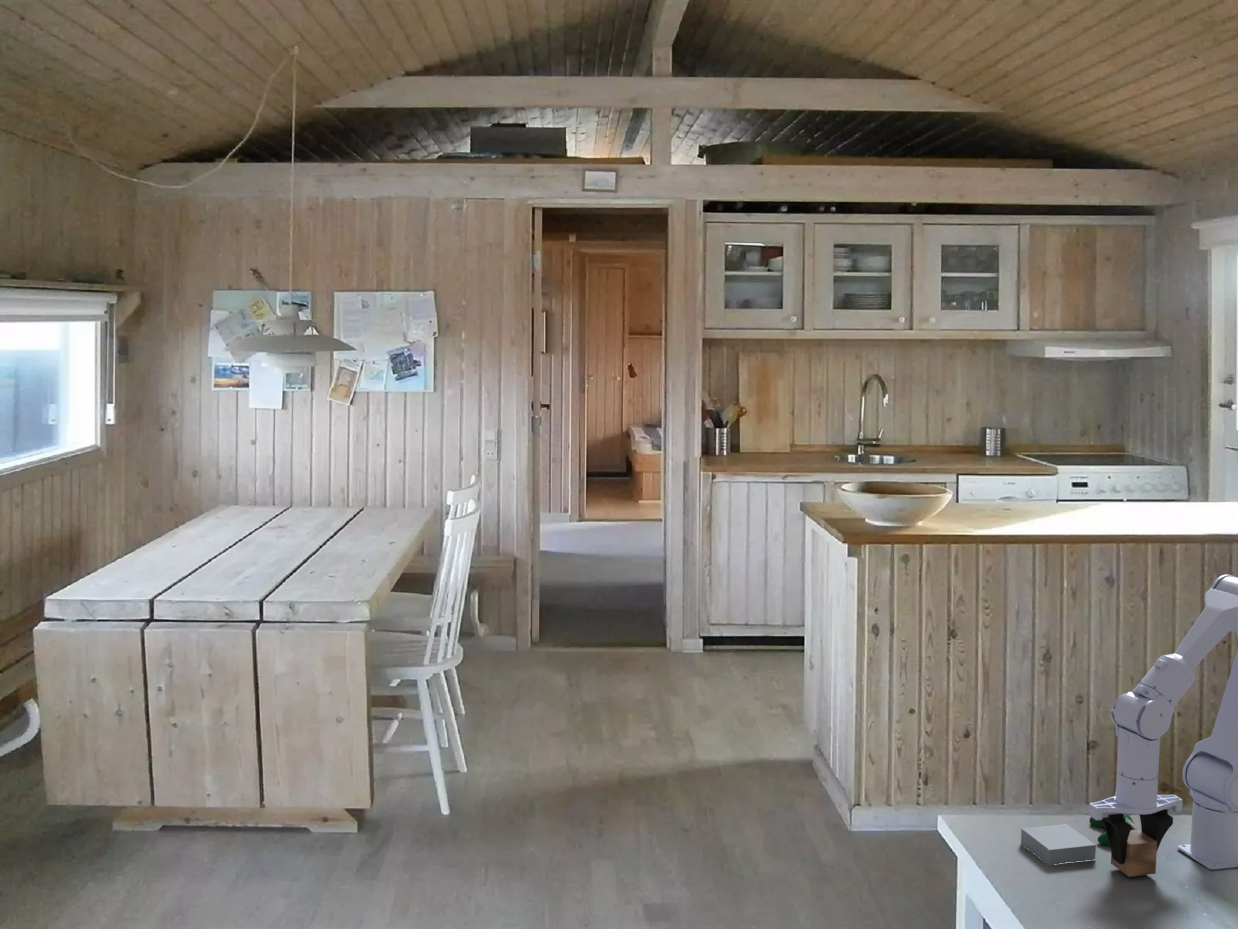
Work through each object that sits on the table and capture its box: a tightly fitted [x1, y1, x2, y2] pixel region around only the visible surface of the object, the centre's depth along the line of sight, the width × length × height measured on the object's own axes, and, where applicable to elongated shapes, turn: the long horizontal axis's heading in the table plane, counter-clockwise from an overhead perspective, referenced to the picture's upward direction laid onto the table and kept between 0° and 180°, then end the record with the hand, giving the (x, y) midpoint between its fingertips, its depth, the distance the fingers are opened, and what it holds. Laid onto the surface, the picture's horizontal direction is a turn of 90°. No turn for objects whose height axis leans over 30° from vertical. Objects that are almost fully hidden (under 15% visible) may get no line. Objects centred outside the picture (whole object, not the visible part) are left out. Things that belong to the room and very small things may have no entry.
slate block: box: [1020, 823, 1097, 866], centre depth 190 cm, size 8×8×3 cm
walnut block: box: [1110, 829, 1158, 877], centre depth 182 cm, size 4×4×5 cm
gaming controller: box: [1089, 815, 1138, 846], centre depth 196 cm, size 9×4×6 cm
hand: (1133, 859), depth 182 cm, fingers closed on walnut block, 4 cm apart
